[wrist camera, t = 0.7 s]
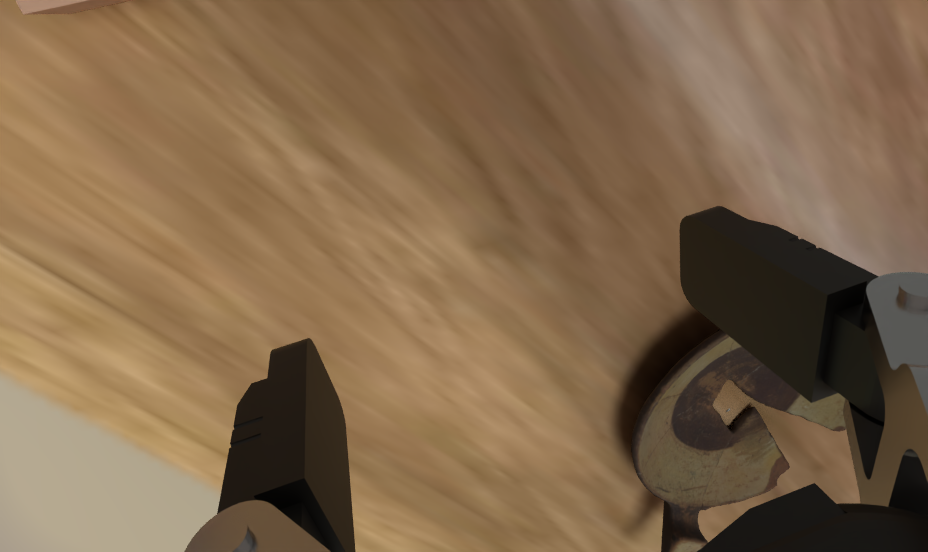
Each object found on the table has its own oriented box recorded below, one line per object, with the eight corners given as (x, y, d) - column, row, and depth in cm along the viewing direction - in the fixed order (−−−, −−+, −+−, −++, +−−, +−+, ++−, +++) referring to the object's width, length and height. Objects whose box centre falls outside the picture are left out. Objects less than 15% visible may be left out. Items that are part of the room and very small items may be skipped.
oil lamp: (866, 350, 54) (944, 399, 47) (650, 542, 59) (693, 609, 53) (767, 222, 44) (848, 260, 37) (516, 467, 49) (548, 538, 42)
